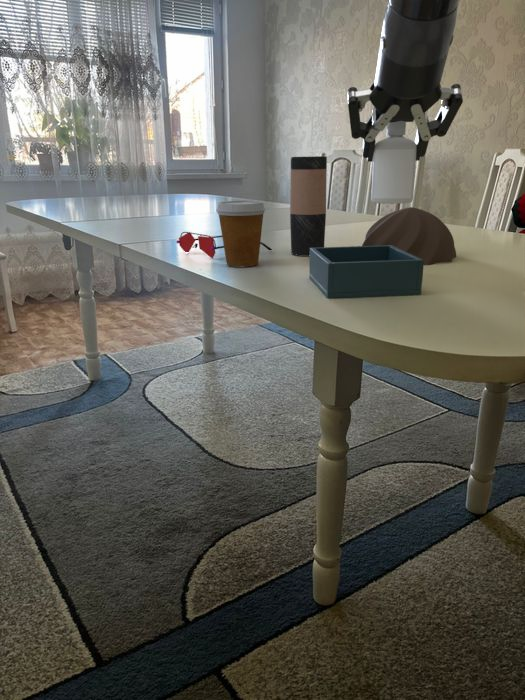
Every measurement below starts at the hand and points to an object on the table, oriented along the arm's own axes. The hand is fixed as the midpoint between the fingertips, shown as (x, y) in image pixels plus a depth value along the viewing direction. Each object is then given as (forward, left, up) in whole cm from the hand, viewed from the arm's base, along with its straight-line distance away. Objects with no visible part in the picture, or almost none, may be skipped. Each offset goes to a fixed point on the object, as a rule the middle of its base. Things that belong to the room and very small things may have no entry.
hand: (392, 156), depth 74 cm
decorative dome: (-16, -33, -20) cm, 42 cm away
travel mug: (+4, -40, -20) cm, 45 cm away
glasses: (+22, -45, -20) cm, 54 cm away
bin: (+1, -8, -20) cm, 22 cm away
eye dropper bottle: (0, +2, -6) cm, 7 cm away
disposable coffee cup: (+19, -30, -20) cm, 41 cm away
